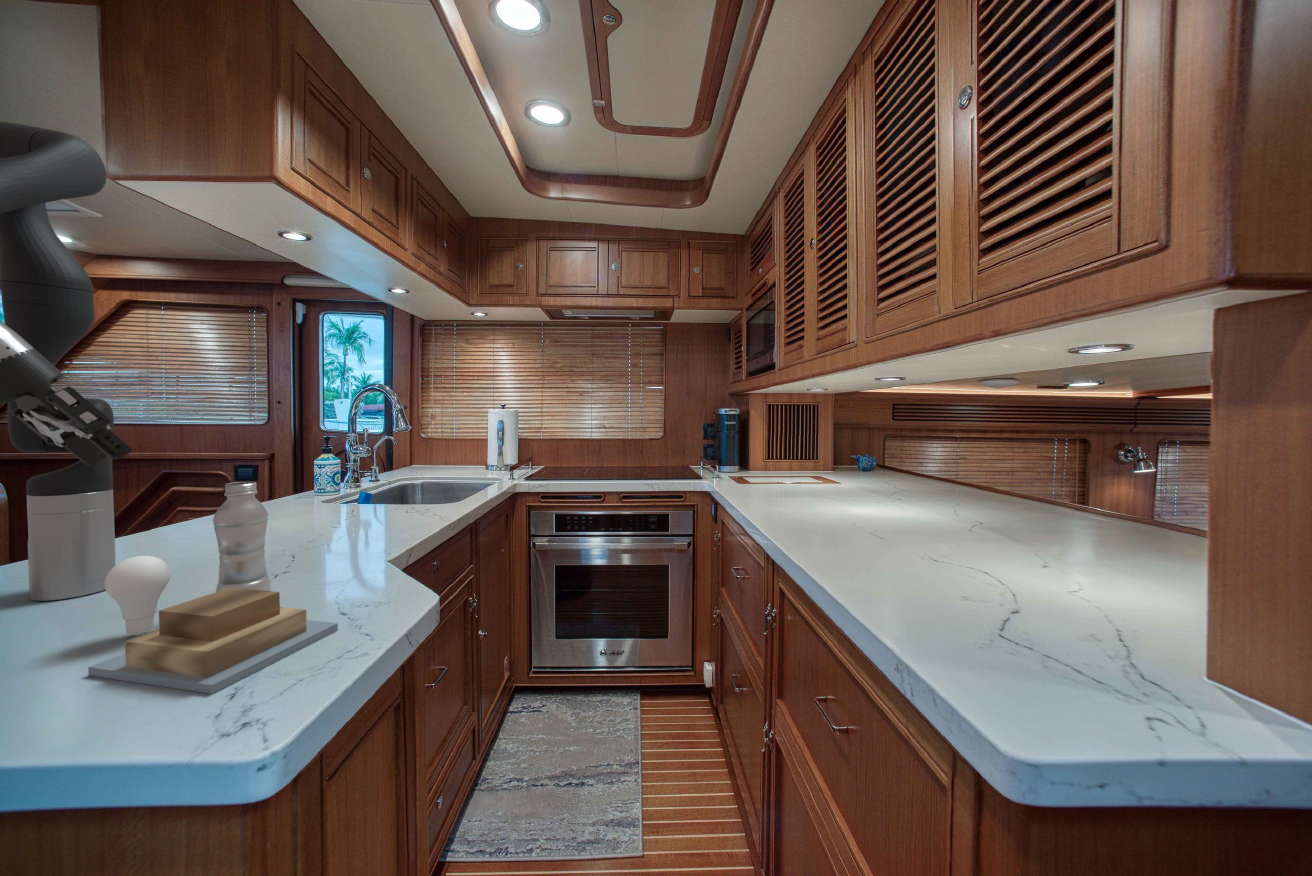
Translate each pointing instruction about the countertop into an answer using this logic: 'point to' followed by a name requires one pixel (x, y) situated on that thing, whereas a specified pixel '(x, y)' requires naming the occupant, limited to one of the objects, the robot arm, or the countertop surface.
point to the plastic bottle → (241, 539)
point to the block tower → (215, 632)
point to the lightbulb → (138, 590)
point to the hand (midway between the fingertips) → (110, 458)
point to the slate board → (120, 671)
